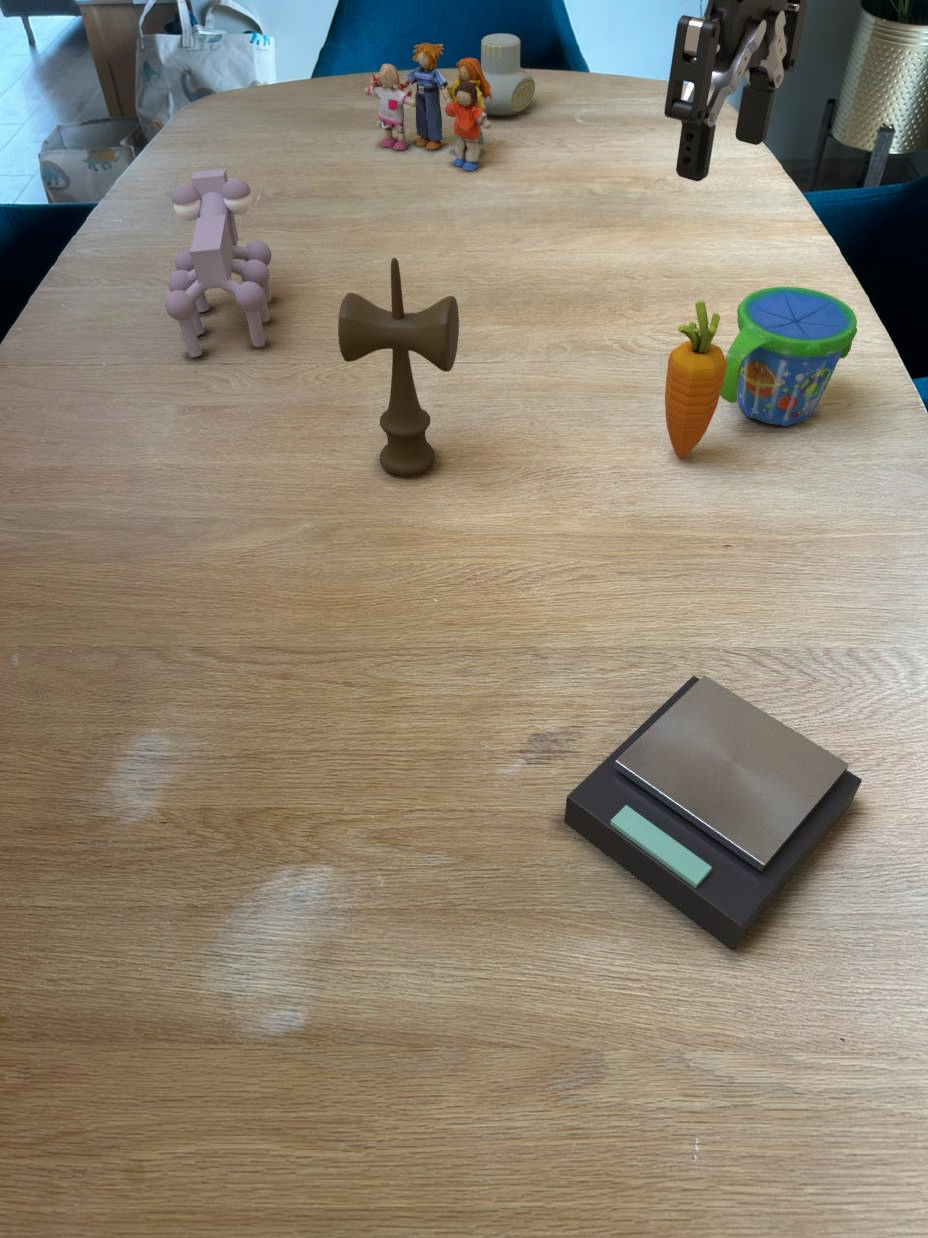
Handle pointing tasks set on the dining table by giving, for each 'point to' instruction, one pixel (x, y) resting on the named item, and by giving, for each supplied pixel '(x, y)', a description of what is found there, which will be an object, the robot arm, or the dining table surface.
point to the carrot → (693, 383)
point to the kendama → (401, 364)
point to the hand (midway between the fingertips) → (721, 158)
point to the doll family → (434, 104)
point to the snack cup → (786, 352)
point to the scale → (692, 844)
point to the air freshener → (505, 75)
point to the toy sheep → (217, 256)
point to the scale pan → (732, 770)
